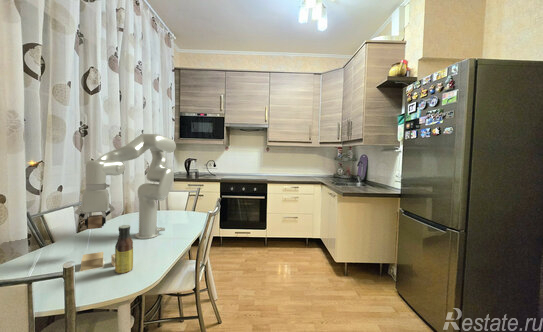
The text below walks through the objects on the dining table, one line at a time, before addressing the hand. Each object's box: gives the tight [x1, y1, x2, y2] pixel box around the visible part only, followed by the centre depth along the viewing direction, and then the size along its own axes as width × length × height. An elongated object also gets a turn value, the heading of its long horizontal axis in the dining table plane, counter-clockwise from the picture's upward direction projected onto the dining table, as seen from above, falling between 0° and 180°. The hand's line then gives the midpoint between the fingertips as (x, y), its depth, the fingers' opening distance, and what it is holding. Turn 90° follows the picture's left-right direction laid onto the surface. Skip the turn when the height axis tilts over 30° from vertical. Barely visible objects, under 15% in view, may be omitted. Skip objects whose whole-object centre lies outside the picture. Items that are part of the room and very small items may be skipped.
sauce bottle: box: [114, 224, 134, 275], centre depth 95 cm, size 6×6×20 cm
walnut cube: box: [87, 214, 103, 230], centre depth 107 cm, size 5×5×5 cm
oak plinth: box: [80, 251, 104, 272], centre depth 98 cm, size 7×7×4 cm
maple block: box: [110, 253, 115, 268], centre depth 101 cm, size 4×4×4 cm
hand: (95, 225), depth 107 cm, fingers closed on walnut cube, 5 cm apart
